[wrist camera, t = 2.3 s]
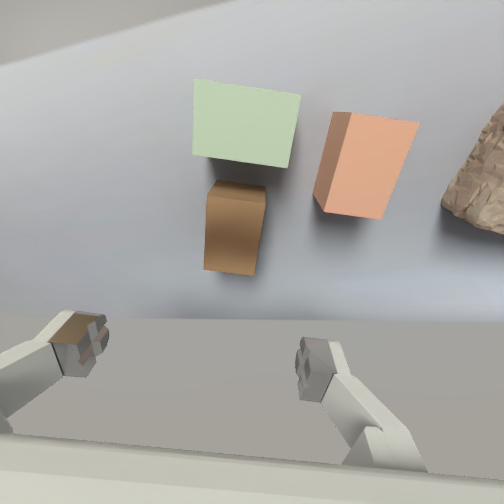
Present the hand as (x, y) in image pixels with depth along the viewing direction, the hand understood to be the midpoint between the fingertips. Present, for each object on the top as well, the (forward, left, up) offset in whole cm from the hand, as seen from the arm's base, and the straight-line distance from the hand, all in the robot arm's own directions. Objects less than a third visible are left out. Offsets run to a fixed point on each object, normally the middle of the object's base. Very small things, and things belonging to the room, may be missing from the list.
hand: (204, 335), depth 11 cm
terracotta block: (-8, -6, -14) cm, 17 cm away
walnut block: (0, 0, -14) cm, 14 cm away
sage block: (0, -7, -14) cm, 16 cm away
